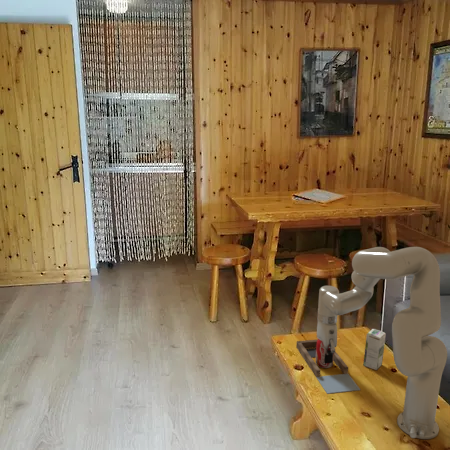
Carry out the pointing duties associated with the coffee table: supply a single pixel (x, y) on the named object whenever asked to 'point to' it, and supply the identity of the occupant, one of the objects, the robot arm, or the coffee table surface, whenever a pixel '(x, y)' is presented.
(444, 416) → the coffee table surface
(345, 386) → the pad
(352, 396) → the coffee table surface
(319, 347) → the soda can
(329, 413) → the coffee table surface
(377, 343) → the syrup box
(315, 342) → the rails
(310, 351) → the dark grey plate
